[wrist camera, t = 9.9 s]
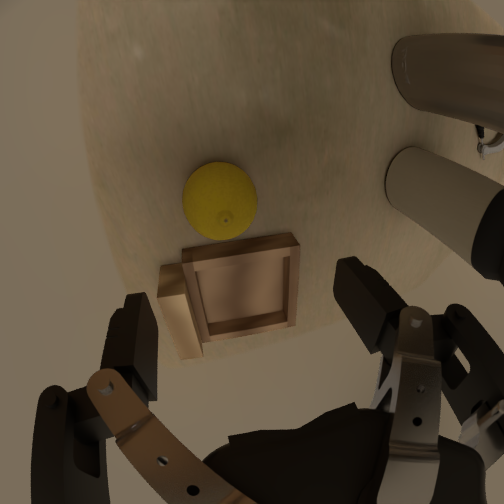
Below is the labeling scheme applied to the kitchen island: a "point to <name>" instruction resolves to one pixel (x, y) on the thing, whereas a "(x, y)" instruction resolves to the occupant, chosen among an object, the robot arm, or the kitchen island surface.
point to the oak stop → (179, 311)
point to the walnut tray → (243, 285)
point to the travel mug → (451, 206)
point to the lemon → (219, 200)
